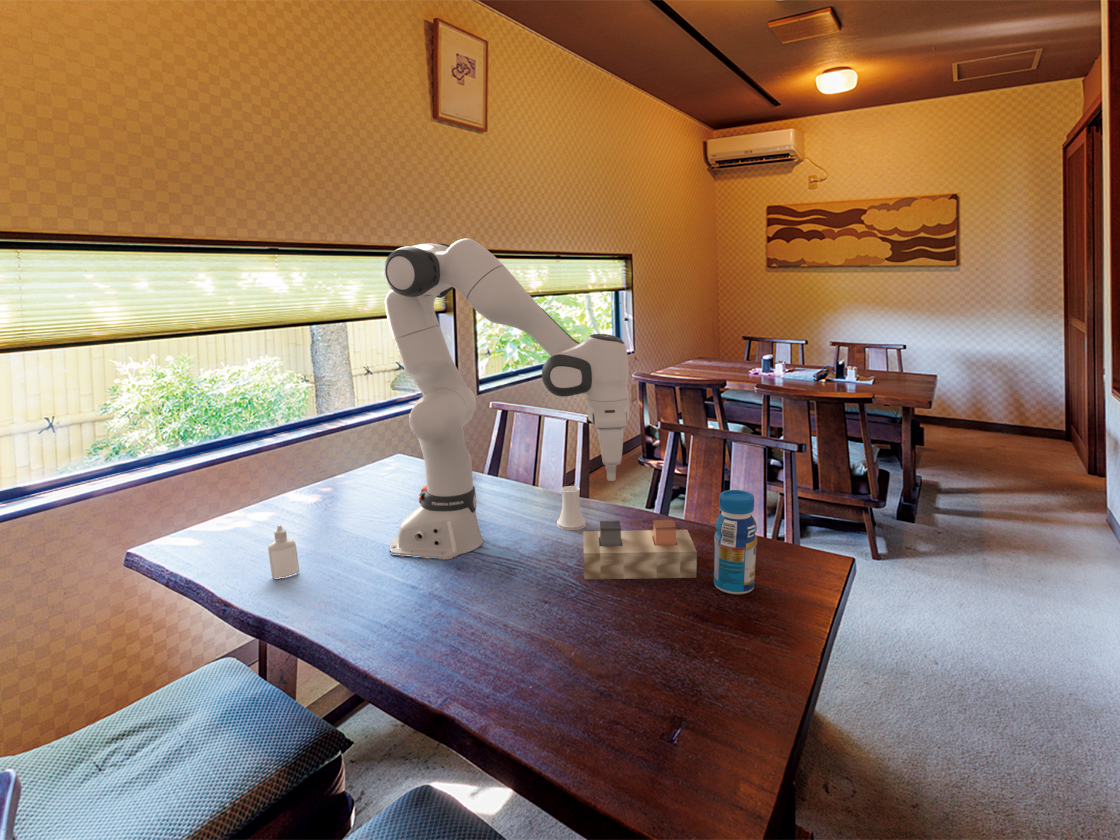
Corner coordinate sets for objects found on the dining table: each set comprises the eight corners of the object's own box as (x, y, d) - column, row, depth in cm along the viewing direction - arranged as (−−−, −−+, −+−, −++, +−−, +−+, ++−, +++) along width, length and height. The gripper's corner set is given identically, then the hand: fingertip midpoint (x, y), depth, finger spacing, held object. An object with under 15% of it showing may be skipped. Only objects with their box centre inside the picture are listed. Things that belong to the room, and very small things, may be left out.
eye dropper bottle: (295, 579, 140) (289, 528, 138) (269, 580, 140) (262, 530, 137) (301, 570, 144) (295, 521, 142) (276, 572, 144) (269, 522, 141)
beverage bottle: (705, 579, 134) (708, 490, 130) (742, 574, 136) (745, 486, 132) (724, 598, 126) (727, 503, 122) (763, 592, 128) (767, 499, 124)
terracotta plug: (655, 551, 138) (655, 527, 137) (653, 543, 143) (653, 520, 141) (676, 550, 138) (676, 527, 137) (673, 542, 142) (673, 519, 141)
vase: (559, 519, 171) (558, 484, 168) (586, 519, 170) (586, 484, 167) (555, 530, 163) (554, 493, 161) (584, 530, 162) (583, 493, 160)
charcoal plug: (600, 552, 139) (600, 528, 137) (600, 543, 143) (599, 521, 142) (621, 551, 139) (620, 528, 137) (619, 543, 143) (619, 520, 142)
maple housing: (584, 579, 136) (583, 553, 135) (583, 555, 148) (583, 531, 146) (696, 577, 135) (696, 551, 134) (686, 553, 147) (687, 529, 146)
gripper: (592, 402, 144) (594, 460, 147) (595, 422, 124) (597, 488, 127) (620, 401, 144) (621, 459, 147) (627, 421, 124) (628, 487, 127)
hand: (610, 473), depth 137 cm, fingers open, 8 cm apart
